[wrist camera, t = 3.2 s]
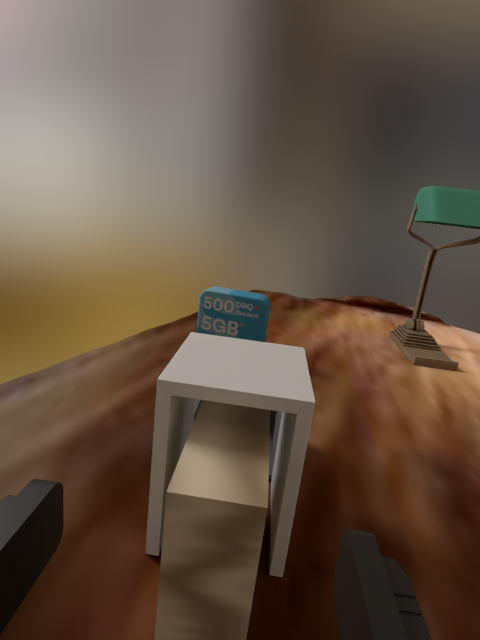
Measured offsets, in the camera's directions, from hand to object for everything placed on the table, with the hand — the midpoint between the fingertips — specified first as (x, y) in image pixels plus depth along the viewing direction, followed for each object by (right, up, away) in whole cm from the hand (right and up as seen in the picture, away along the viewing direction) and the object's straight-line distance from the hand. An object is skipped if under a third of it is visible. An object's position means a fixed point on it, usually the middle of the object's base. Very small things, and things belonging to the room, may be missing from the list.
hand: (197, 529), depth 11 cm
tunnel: (0, -11, +24) cm, 27 cm away
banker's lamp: (+42, -2, +78) cm, 88 cm away
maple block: (-1, -13, +19) cm, 23 cm away
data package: (-1, -1, +62) cm, 62 cm away
